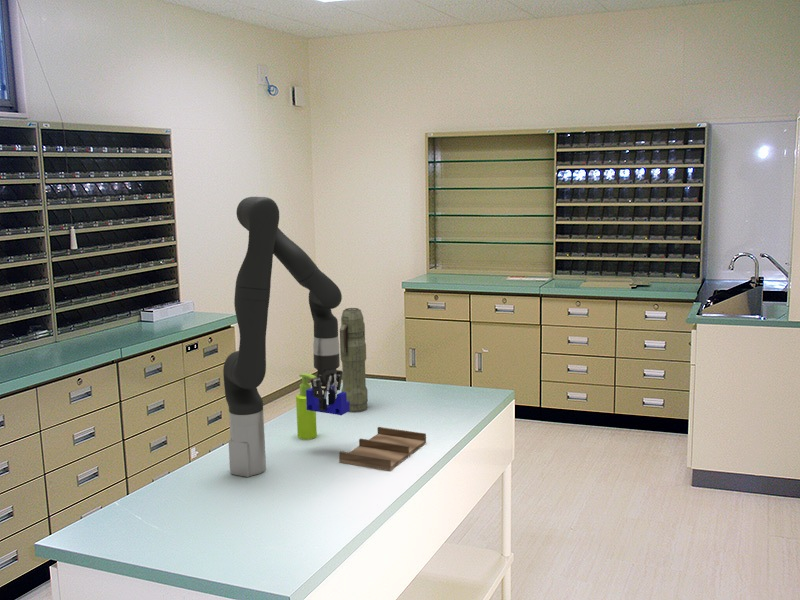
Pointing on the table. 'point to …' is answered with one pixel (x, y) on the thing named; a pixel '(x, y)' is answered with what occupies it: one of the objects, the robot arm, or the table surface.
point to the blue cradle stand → (337, 408)
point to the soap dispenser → (305, 411)
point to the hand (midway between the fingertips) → (327, 408)
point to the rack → (384, 449)
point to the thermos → (353, 358)
